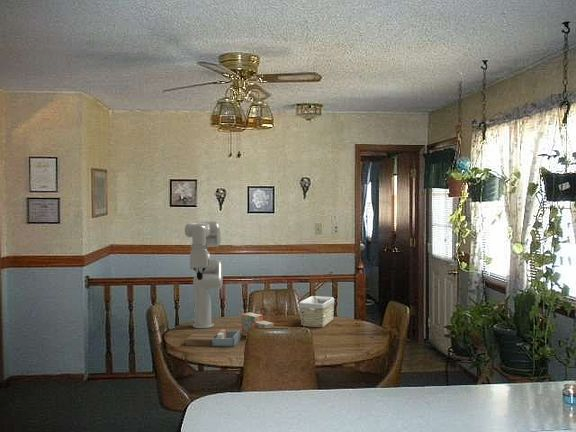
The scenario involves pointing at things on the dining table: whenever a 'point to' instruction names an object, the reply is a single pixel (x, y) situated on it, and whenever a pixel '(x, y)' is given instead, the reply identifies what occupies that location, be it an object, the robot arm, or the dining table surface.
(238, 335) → the tray
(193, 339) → the walnut board
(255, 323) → the stack of blocks
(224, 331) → the peach block
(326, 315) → the storage basket
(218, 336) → the cream tile
